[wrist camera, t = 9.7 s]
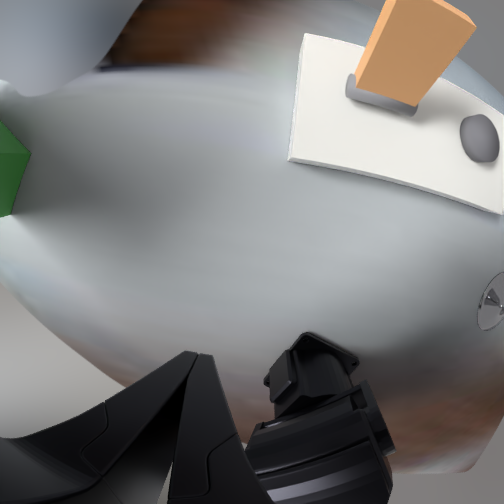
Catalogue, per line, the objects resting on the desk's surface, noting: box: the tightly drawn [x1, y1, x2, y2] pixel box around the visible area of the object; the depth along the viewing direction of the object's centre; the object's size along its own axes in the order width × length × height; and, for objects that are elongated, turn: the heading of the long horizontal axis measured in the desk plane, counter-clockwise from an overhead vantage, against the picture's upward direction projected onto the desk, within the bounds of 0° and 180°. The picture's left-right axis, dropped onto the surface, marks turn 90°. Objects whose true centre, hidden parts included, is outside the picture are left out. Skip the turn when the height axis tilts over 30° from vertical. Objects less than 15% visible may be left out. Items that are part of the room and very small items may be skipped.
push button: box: [460, 114, 500, 162], centre depth 13 cm, size 4×4×1 cm
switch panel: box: [287, 33, 504, 215], centre depth 16 cm, size 9×19×3 cm, turn 83°
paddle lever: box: [345, 0, 477, 117], centre depth 9 cm, size 2×4×9 cm, turn 84°
